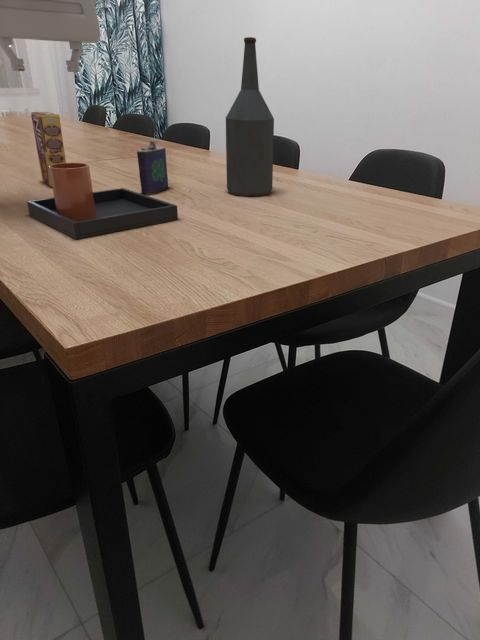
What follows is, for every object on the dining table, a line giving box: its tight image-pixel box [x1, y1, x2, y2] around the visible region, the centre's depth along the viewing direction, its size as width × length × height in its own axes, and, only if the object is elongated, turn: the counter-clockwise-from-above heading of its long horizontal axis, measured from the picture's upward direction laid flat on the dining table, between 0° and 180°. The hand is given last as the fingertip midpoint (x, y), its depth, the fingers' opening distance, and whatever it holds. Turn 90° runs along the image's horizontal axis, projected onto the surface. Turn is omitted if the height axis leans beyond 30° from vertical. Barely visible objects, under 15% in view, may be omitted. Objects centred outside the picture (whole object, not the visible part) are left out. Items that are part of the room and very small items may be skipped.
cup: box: [49, 162, 96, 222], centre depth 87 cm, size 6×6×9 cm
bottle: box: [225, 36, 275, 197], centre depth 107 cm, size 10×10×30 cm
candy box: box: [30, 111, 67, 188], centre depth 115 cm, size 9×4×15 cm, turn 35°
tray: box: [26, 187, 179, 240], centre depth 92 cm, size 20×20×3 cm
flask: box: [136, 139, 169, 196], centre depth 111 cm, size 9×3×11 cm, turn 157°
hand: (47, 71), depth 86 cm, fingers open, 8 cm apart
